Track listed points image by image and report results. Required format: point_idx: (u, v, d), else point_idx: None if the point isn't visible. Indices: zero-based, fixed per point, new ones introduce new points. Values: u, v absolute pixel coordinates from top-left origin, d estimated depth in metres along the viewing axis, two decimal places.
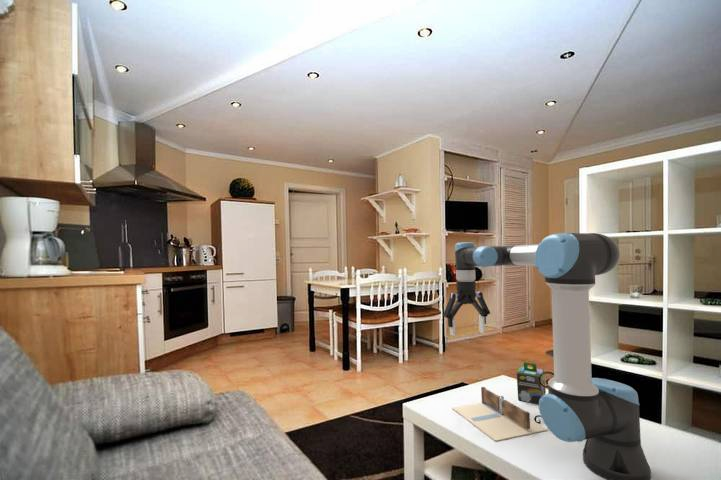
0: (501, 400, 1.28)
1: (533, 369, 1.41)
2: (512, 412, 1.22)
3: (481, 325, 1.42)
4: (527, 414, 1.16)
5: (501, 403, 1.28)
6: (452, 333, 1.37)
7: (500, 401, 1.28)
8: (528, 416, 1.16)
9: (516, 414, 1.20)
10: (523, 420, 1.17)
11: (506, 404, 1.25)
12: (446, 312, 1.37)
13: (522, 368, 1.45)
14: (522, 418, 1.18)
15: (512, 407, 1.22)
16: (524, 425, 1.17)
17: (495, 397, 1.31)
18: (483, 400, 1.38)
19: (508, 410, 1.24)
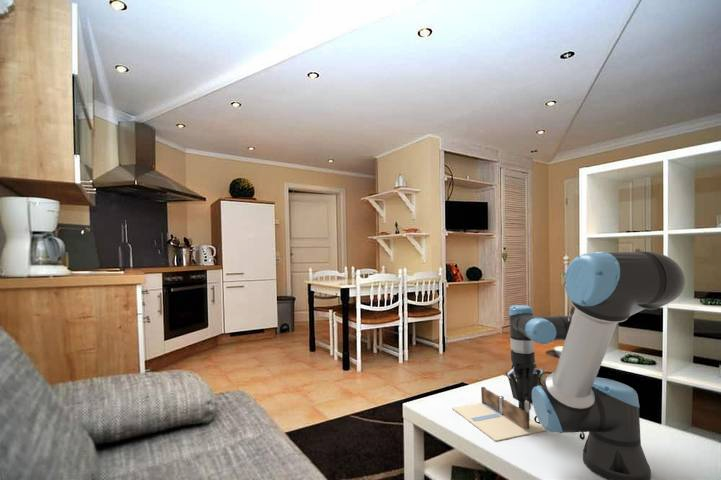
0: (501, 400, 1.28)
1: None
2: (512, 412, 1.22)
3: None
4: (526, 414, 1.16)
5: (501, 403, 1.28)
6: None
7: (500, 401, 1.28)
8: (527, 416, 1.16)
9: (516, 414, 1.20)
10: (522, 420, 1.17)
11: (506, 404, 1.25)
12: (515, 395, 1.19)
13: None
14: (522, 418, 1.18)
15: (512, 407, 1.22)
16: (523, 425, 1.17)
17: (495, 397, 1.31)
18: (483, 400, 1.38)
19: (508, 410, 1.24)
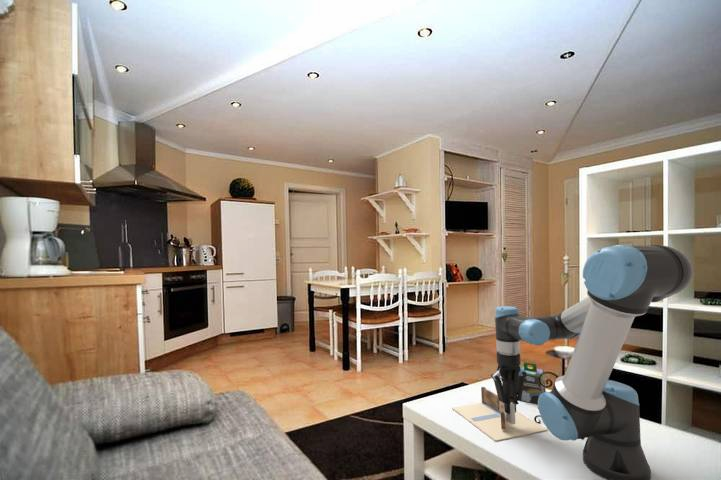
0: None
1: (533, 369, 1.41)
2: None
3: None
4: (502, 414, 1.16)
5: None
6: (509, 420, 1.18)
7: None
8: (503, 416, 1.16)
9: None
10: None
11: (500, 403, 1.26)
12: (500, 397, 1.18)
13: (522, 368, 1.45)
14: None
15: (500, 407, 1.23)
16: (501, 425, 1.17)
17: (495, 397, 1.31)
18: (483, 400, 1.38)
19: None
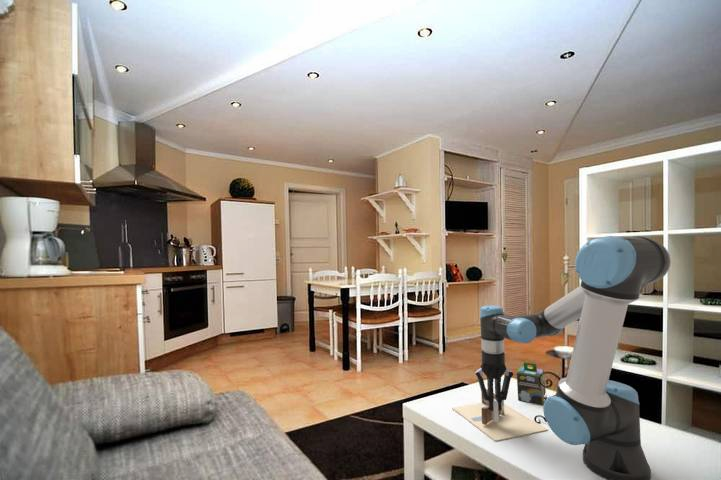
0: None
1: (533, 369, 1.41)
2: None
3: None
4: (482, 409, 1.20)
5: (501, 403, 1.28)
6: (493, 418, 1.20)
7: None
8: (483, 412, 1.20)
9: None
10: None
11: None
12: (483, 394, 1.20)
13: (522, 368, 1.45)
14: None
15: None
16: None
17: None
18: (483, 400, 1.38)
19: None
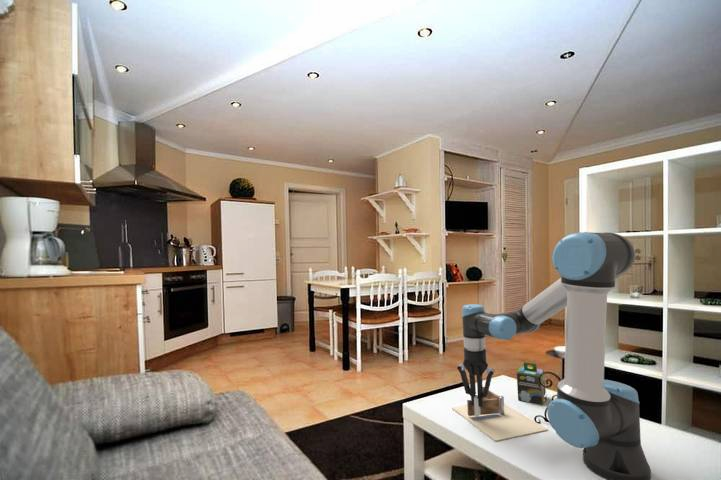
0: (501, 400, 1.28)
1: (533, 369, 1.41)
2: None
3: None
4: (467, 401, 1.27)
5: (501, 403, 1.28)
6: None
7: (500, 401, 1.28)
8: (468, 404, 1.26)
9: None
10: None
11: None
12: None
13: (522, 368, 1.45)
14: None
15: None
16: None
17: (495, 397, 1.31)
18: None
19: None
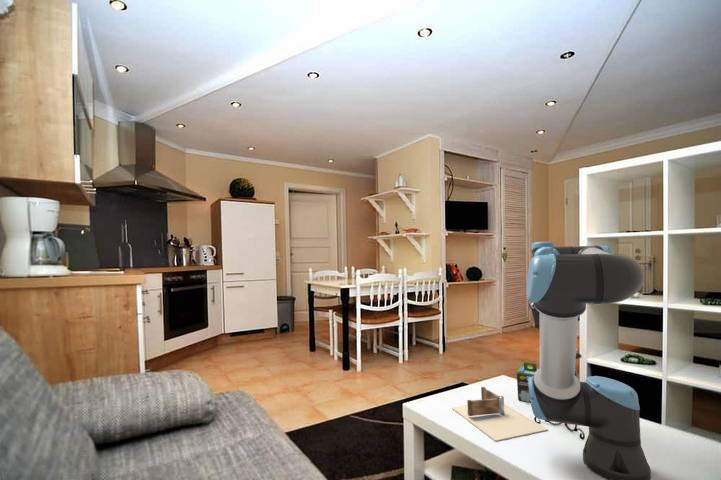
0: (501, 400, 1.28)
1: (533, 369, 1.41)
2: None
3: None
4: (467, 401, 1.27)
5: (501, 403, 1.28)
6: None
7: (500, 401, 1.28)
8: (468, 404, 1.26)
9: None
10: None
11: None
12: (538, 324, 1.27)
13: (522, 368, 1.45)
14: None
15: None
16: None
17: (495, 397, 1.31)
18: None
19: None
